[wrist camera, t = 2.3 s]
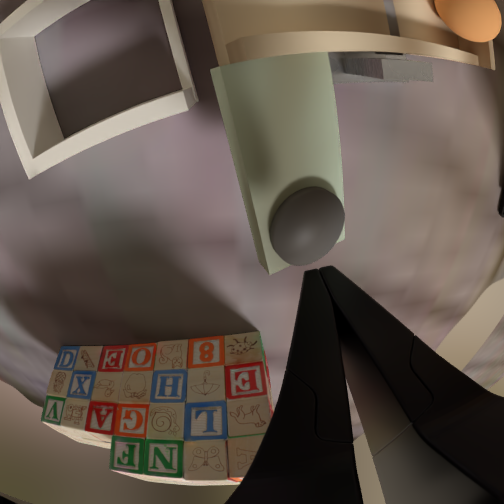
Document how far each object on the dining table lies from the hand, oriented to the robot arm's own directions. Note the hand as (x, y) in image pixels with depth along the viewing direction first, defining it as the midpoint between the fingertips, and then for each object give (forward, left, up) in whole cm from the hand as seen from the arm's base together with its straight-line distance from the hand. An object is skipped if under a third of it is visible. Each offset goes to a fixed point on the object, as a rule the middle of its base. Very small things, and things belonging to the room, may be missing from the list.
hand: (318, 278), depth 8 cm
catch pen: (+7, -9, -8) cm, 14 cm away
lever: (-5, -5, -6) cm, 9 cm away
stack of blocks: (+14, +15, -8) cm, 23 cm away
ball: (-10, -9, -4) cm, 14 cm away
